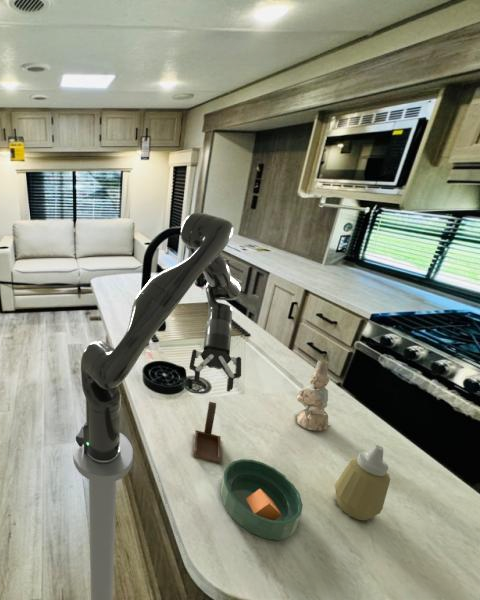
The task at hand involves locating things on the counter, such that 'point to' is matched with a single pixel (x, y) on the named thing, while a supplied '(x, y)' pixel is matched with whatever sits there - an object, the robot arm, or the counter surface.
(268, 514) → the block
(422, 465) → the counter surface
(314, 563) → the counter surface
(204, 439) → the scoop
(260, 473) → the green pet bowl
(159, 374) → the counter surface
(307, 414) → the figurine
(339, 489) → the squeeze bottle
